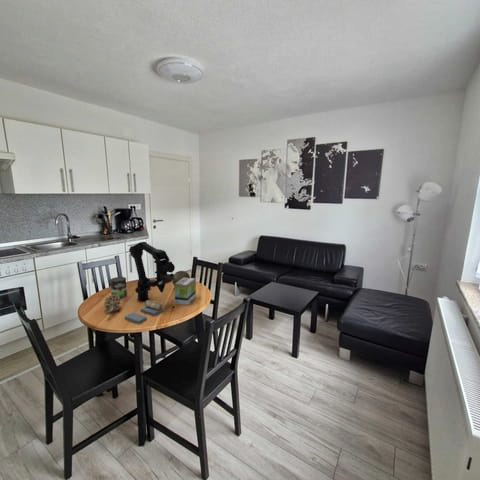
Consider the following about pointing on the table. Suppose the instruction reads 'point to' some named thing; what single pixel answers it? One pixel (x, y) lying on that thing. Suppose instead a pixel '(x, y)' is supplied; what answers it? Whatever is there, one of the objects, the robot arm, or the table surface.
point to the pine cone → (112, 303)
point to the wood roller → (153, 305)
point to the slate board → (139, 318)
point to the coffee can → (119, 287)
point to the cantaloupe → (180, 276)
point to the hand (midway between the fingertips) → (161, 292)
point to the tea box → (185, 291)
